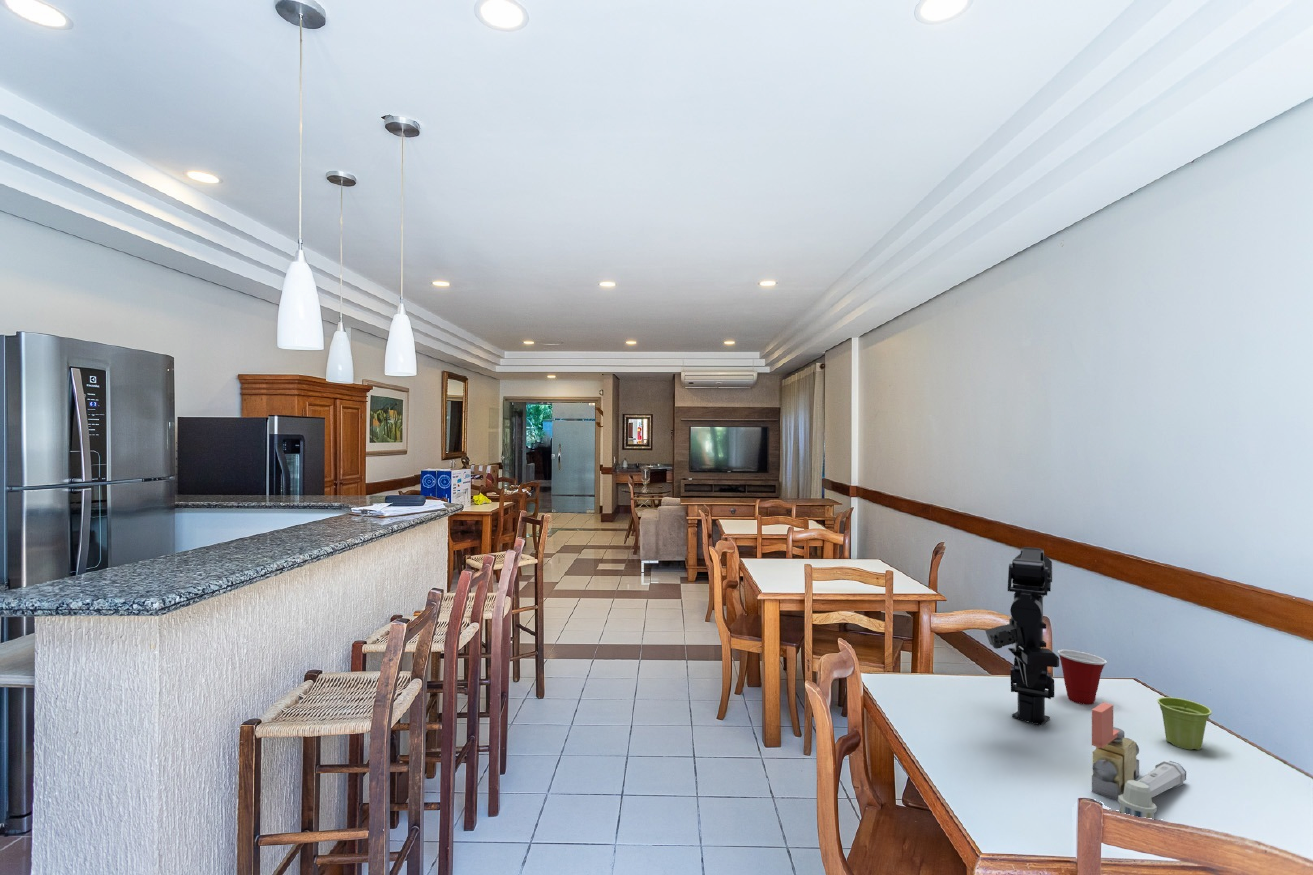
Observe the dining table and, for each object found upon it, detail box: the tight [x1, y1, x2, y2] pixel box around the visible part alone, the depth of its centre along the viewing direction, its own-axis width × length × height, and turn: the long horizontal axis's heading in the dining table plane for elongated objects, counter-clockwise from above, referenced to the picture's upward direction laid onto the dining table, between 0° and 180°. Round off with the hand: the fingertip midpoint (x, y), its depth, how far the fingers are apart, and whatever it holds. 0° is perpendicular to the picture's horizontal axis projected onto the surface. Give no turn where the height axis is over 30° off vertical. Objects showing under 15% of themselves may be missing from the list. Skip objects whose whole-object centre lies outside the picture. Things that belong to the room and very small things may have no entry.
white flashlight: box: [1118, 760, 1187, 819], centre depth 120 cm, size 5×7×25 cm
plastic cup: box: [1057, 649, 1107, 706], centre depth 168 cm, size 11×11×12 cm
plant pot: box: [1156, 696, 1213, 751], centre depth 143 cm, size 9×9×9 cm
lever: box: [1091, 702, 1125, 748], centre depth 123 cm, size 11×3×7 cm, turn 128°
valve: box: [1091, 737, 1140, 801], centre depth 126 cm, size 16×5×9 cm, turn 130°
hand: (1028, 685), depth 145 cm, fingers closed
